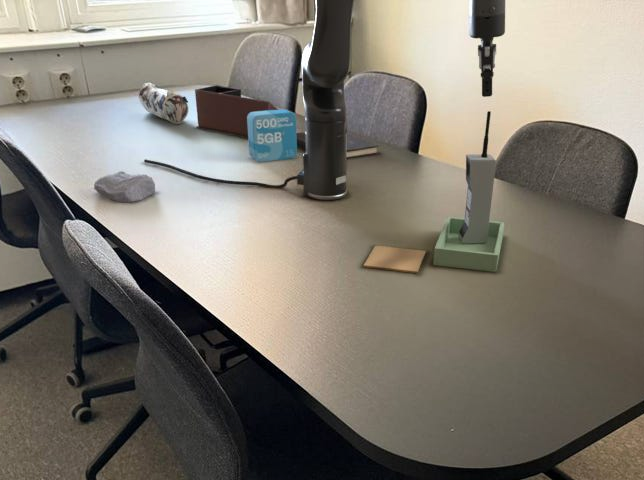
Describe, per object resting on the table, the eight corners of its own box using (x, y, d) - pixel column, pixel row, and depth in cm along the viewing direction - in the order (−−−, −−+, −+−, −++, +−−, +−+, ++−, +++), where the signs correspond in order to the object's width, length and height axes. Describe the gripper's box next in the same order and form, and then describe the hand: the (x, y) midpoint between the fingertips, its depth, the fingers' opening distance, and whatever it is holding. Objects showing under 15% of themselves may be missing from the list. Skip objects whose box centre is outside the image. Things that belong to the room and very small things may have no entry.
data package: (255, 162, 185) (252, 115, 179) (249, 158, 188) (246, 112, 182) (297, 158, 190) (296, 111, 184) (291, 153, 193) (289, 108, 187)
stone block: (132, 211, 156) (160, 190, 163) (125, 192, 153) (154, 171, 160) (92, 204, 161) (120, 184, 167) (84, 185, 157) (113, 165, 164)
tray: (433, 264, 131) (434, 248, 129) (446, 231, 146) (447, 216, 144) (496, 272, 129) (498, 255, 127) (502, 237, 144) (504, 222, 142)
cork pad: (363, 267, 129) (363, 265, 129) (375, 247, 138) (375, 245, 137) (417, 273, 127) (417, 271, 127) (426, 252, 136) (426, 250, 136)
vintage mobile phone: (458, 237, 142) (470, 108, 129) (482, 237, 143) (497, 108, 130) (461, 244, 139) (474, 113, 126) (486, 244, 139) (502, 113, 126)
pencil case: (192, 122, 221) (188, 89, 216) (166, 126, 217) (162, 92, 212) (163, 109, 236) (159, 78, 231) (138, 112, 232) (134, 81, 227)
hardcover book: (333, 135, 211) (333, 127, 210) (378, 153, 195) (378, 145, 194) (286, 142, 203) (286, 134, 202) (329, 161, 188) (329, 153, 186)
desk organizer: (219, 122, 223) (216, 84, 217) (293, 136, 210) (292, 96, 204) (195, 128, 215) (191, 89, 209) (270, 143, 202) (269, 102, 196)
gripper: (469, 8, 155) (470, 85, 164) (468, 17, 143) (469, 100, 152) (504, 5, 154) (503, 83, 163) (506, 14, 142) (504, 98, 151)
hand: (487, 91), depth 157 cm, fingers open, 8 cm apart
